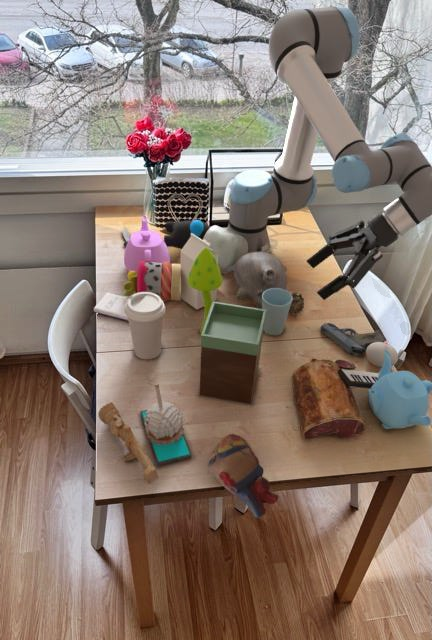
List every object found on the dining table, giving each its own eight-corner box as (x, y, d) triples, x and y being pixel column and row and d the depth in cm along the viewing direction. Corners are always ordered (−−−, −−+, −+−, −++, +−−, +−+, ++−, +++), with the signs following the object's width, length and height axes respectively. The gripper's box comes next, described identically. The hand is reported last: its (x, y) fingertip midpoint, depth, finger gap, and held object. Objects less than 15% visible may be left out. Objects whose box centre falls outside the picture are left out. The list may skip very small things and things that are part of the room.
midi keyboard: (390, 373, 132) (403, 387, 129) (387, 377, 133) (399, 391, 130) (340, 367, 123) (352, 382, 119) (336, 372, 123) (348, 386, 120)
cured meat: (351, 359, 137) (358, 338, 132) (382, 436, 119) (390, 415, 115) (281, 361, 135) (284, 340, 130) (301, 439, 118) (306, 418, 113)
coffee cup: (150, 333, 141) (147, 284, 131) (174, 351, 136) (173, 302, 126) (120, 349, 136) (115, 300, 126) (144, 369, 131) (141, 320, 121)
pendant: (308, 293, 150) (296, 285, 147) (308, 317, 147) (296, 309, 144) (294, 300, 153) (282, 293, 150) (294, 323, 150) (281, 316, 147)
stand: (210, 361, 134) (212, 312, 124) (258, 369, 133) (264, 320, 123) (199, 395, 126) (200, 346, 116) (250, 404, 125) (256, 355, 114)
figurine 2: (375, 330, 135) (370, 352, 140) (364, 342, 132) (359, 363, 136) (405, 342, 132) (399, 364, 136) (395, 355, 128) (389, 376, 133)
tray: (212, 312, 124) (212, 301, 122) (265, 320, 123) (266, 309, 120) (200, 346, 115) (200, 335, 113) (257, 356, 114) (258, 344, 112)
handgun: (352, 309, 148) (320, 324, 143) (391, 337, 140) (359, 353, 135) (350, 316, 150) (318, 331, 144) (388, 344, 142) (356, 361, 137)
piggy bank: (295, 312, 147) (273, 276, 138) (242, 331, 154) (218, 298, 145) (292, 270, 159) (272, 234, 149) (243, 289, 165) (220, 256, 156)
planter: (245, 230, 152) (211, 218, 155) (227, 272, 152) (194, 259, 155) (255, 244, 163) (223, 233, 166) (238, 283, 164) (207, 270, 167)
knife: (111, 228, 175) (125, 225, 177) (111, 232, 176) (125, 228, 178) (133, 254, 165) (148, 250, 167) (134, 257, 166) (148, 253, 168)
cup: (292, 334, 143) (298, 301, 136) (266, 341, 141) (271, 308, 134) (278, 317, 148) (283, 285, 141) (253, 324, 146) (256, 291, 138)
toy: (165, 210, 163) (215, 213, 162) (168, 236, 173) (215, 239, 172) (162, 232, 159) (213, 235, 158) (165, 258, 169) (213, 261, 168)
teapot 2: (348, 417, 122) (364, 381, 114) (369, 382, 130) (385, 347, 122) (414, 450, 117) (435, 415, 109) (431, 412, 126) (451, 377, 118)
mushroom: (197, 318, 146) (199, 234, 129) (225, 328, 144) (230, 244, 126) (181, 335, 141) (180, 250, 123) (209, 346, 138) (213, 261, 121)
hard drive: (136, 323, 144) (94, 313, 146) (149, 306, 149) (108, 296, 152) (136, 318, 142) (93, 308, 145) (148, 301, 148) (107, 291, 151)
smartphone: (157, 463, 111) (140, 411, 120) (157, 466, 111) (140, 413, 121) (192, 455, 112) (172, 404, 122) (192, 457, 113) (172, 406, 123)
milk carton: (196, 310, 149) (198, 249, 135) (180, 298, 152) (180, 237, 139) (216, 300, 152) (219, 240, 139) (200, 289, 156) (201, 228, 142)
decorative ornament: (160, 414, 121) (151, 365, 110) (190, 426, 118) (183, 377, 107) (140, 438, 116) (128, 390, 105) (170, 452, 113) (162, 404, 103)
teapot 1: (173, 284, 157) (172, 248, 148) (126, 287, 155) (122, 250, 146) (166, 248, 170) (165, 212, 162) (123, 249, 169) (120, 214, 160)
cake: (179, 288, 156) (126, 285, 155) (180, 255, 149) (125, 251, 148) (178, 309, 149) (123, 306, 147) (180, 275, 142) (122, 272, 140)
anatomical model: (198, 454, 114) (240, 510, 115) (204, 464, 101) (251, 528, 103) (234, 427, 114) (275, 483, 116) (245, 434, 102) (290, 497, 103)
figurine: (147, 492, 107) (100, 429, 118) (165, 481, 109) (116, 419, 120) (141, 471, 102) (92, 407, 113) (160, 459, 103) (109, 397, 115)
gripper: (416, 264, 118) (334, 319, 127) (383, 208, 135) (314, 261, 145) (399, 242, 113) (316, 301, 123) (367, 188, 131) (297, 243, 141)
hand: (314, 279), depth 134 cm, fingers open, 13 cm apart
